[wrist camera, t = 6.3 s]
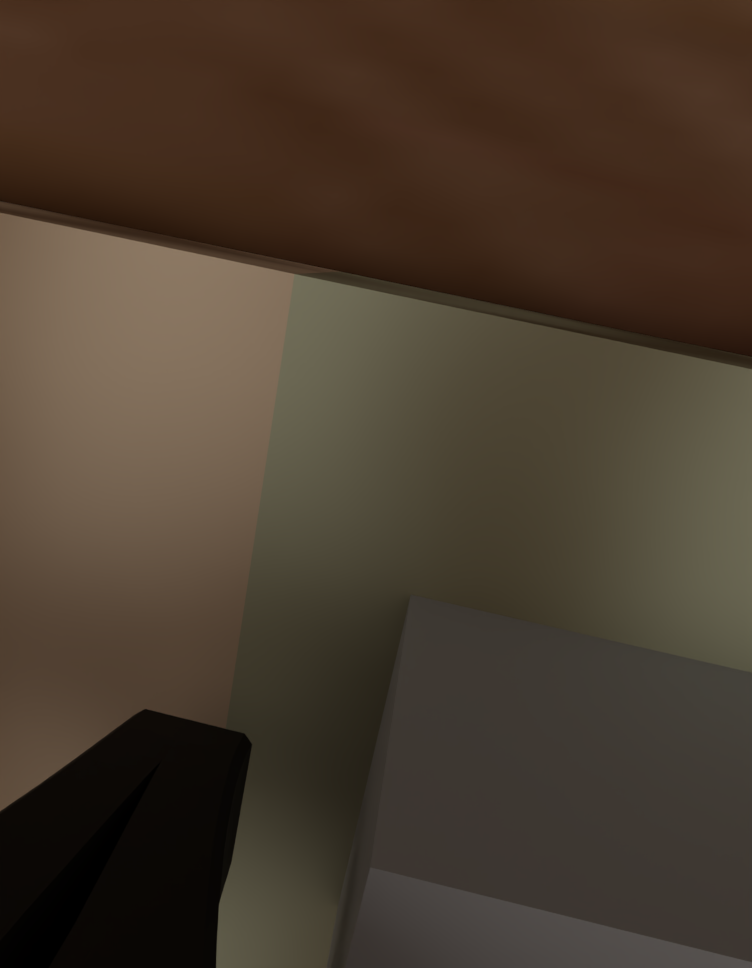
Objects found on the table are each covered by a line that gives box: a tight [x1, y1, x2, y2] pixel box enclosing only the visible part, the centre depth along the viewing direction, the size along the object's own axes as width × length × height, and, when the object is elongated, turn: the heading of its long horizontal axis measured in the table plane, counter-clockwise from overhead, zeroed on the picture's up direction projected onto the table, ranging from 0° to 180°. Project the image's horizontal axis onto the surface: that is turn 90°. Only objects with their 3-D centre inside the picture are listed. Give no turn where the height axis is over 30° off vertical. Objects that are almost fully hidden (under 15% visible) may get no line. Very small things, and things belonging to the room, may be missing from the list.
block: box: [326, 595, 752, 968], centre depth 7 cm, size 5×5×4 cm
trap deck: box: [0, 201, 752, 968], centre depth 11 cm, size 32×12×3 cm, turn 79°
